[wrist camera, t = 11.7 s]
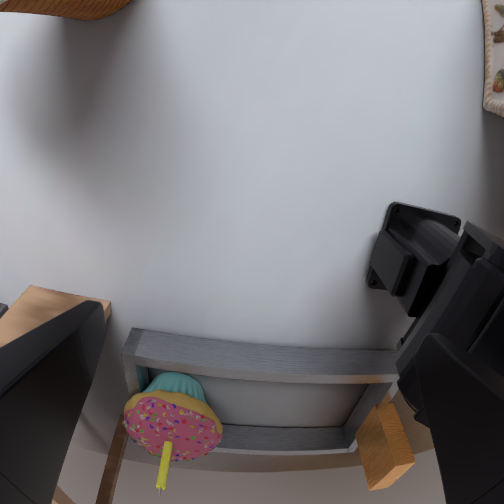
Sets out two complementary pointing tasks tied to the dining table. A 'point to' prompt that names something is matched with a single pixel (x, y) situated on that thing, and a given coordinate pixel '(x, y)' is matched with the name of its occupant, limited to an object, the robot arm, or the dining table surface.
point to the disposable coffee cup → (65, 7)
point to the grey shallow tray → (292, 371)
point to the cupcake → (172, 421)
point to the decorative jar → (494, 56)
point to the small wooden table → (29, 317)
